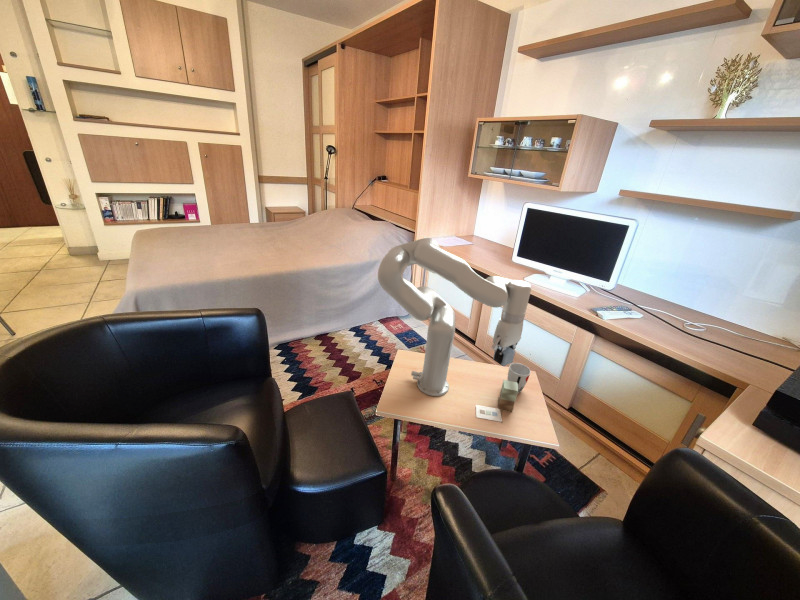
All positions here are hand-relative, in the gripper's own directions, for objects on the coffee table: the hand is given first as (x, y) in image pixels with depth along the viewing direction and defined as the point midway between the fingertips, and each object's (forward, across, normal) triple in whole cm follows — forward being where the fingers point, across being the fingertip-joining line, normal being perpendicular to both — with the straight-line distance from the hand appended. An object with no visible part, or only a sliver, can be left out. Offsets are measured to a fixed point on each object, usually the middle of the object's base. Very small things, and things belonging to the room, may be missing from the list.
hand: (503, 359), depth 121 cm
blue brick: (+1, 0, 0) cm, 1 cm away
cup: (+18, -11, +1) cm, 21 cm away
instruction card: (+18, +9, +5) cm, 20 cm away
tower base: (+18, 0, +6) cm, 19 cm away
